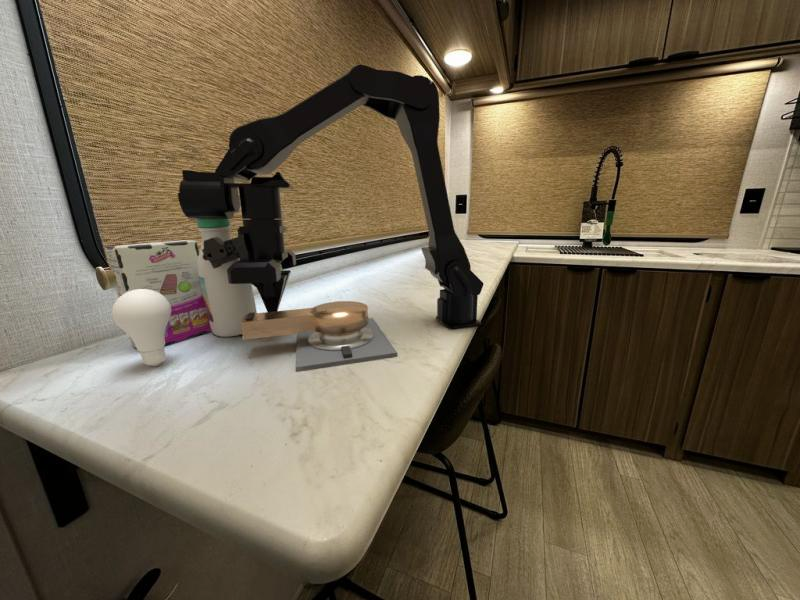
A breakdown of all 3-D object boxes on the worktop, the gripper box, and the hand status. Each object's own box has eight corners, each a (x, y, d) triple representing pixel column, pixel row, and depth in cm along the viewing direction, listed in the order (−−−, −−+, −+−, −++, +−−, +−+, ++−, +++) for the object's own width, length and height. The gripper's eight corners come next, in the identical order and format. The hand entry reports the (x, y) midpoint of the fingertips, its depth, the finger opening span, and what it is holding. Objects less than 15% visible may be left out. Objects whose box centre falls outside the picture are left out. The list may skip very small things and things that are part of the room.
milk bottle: (266, 320, 61) (248, 213, 54) (244, 339, 53) (219, 218, 46) (228, 319, 61) (205, 213, 54) (202, 337, 54) (171, 218, 47)
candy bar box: (201, 326, 60) (184, 239, 56) (215, 331, 57) (199, 240, 53) (129, 347, 51) (102, 245, 47) (142, 353, 48) (115, 246, 44)
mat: (372, 320, 61) (372, 314, 61) (397, 356, 45) (397, 348, 45) (297, 329, 57) (297, 323, 57) (296, 371, 41) (295, 363, 41)
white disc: (366, 324, 57) (366, 313, 57) (379, 345, 48) (379, 333, 47) (307, 331, 55) (306, 320, 54) (309, 355, 45) (307, 342, 44)
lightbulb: (117, 372, 42) (95, 293, 40) (163, 353, 48) (147, 283, 45) (147, 379, 40) (126, 296, 38) (192, 359, 46) (176, 285, 43)
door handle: (363, 313, 56) (362, 297, 55) (373, 329, 48) (372, 311, 47) (250, 325, 51) (247, 308, 50) (240, 346, 42) (236, 326, 42)
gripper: (228, 219, 56) (239, 302, 60) (174, 219, 39) (195, 338, 42) (292, 219, 58) (299, 300, 62) (269, 219, 40) (281, 333, 44)
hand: (272, 315), depth 53 cm, fingers closed
